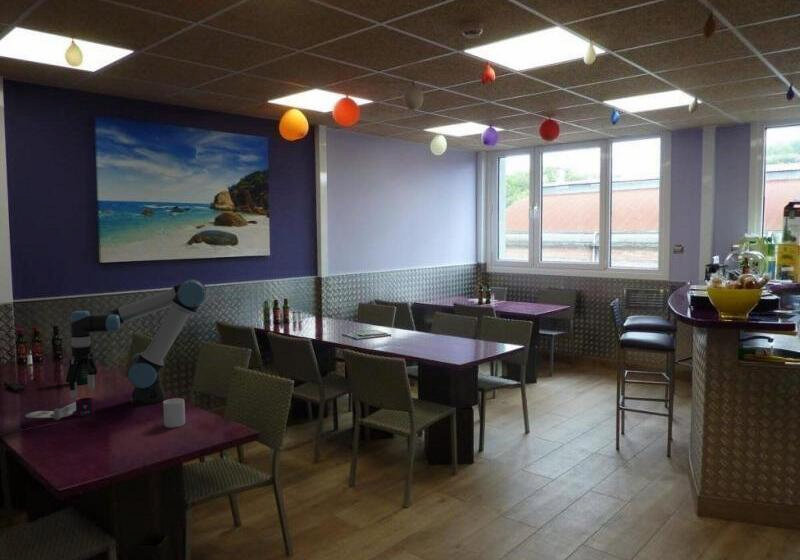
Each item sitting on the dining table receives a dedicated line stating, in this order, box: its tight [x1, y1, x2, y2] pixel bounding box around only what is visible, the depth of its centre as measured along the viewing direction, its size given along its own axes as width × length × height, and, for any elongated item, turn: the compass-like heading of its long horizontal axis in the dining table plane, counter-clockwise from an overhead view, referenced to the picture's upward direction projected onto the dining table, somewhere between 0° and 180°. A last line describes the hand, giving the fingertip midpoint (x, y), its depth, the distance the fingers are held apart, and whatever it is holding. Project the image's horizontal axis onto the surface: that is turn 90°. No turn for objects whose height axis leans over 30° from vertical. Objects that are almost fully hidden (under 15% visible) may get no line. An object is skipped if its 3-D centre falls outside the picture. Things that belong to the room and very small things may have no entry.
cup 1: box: [75, 397, 94, 418], centre depth 266 cm, size 7×10×7 cm
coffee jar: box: [71, 354, 90, 385], centre depth 320 cm, size 10×8×19 cm
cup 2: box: [162, 397, 186, 429], centre depth 251 cm, size 8×12×10 cm
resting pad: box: [25, 410, 74, 419], centre depth 265 cm, size 20×9×1 cm, turn 87°
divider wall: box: [53, 397, 82, 421], centre depth 266 cm, size 2×18×4 cm, turn 178°
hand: (82, 393), depth 265 cm, fingers open, 13 cm apart
